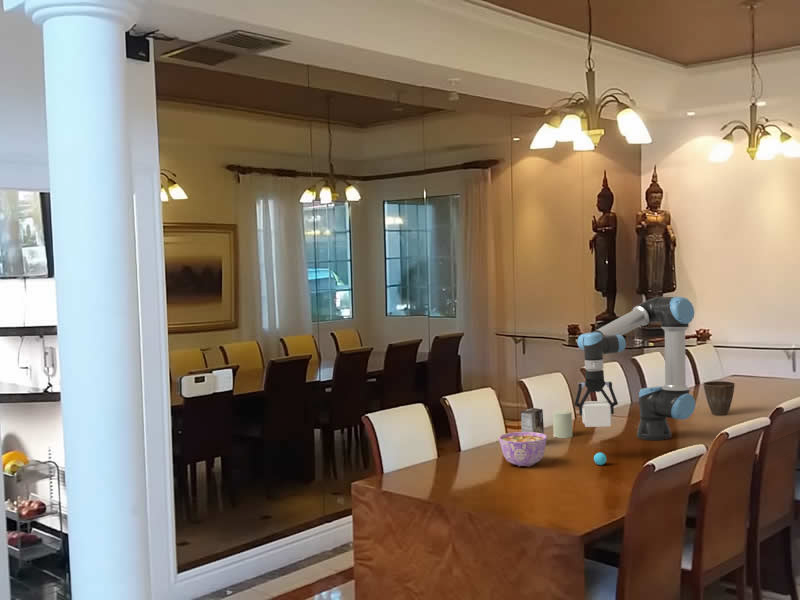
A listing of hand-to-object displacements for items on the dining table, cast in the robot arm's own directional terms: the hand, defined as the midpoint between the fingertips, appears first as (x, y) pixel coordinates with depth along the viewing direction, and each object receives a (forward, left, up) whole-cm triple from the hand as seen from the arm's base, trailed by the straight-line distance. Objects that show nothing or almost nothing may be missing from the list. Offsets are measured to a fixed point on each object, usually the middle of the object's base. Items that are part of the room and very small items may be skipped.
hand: (596, 422), depth 338 cm
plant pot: (-68, -88, -15) cm, 112 cm away
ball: (0, +11, -13) cm, 17 cm away
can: (+13, -45, -15) cm, 49 cm away
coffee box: (+27, -28, -15) cm, 42 cm away
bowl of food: (+31, +8, -15) cm, 36 cm away
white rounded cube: (0, 0, -1) cm, 1 cm away
